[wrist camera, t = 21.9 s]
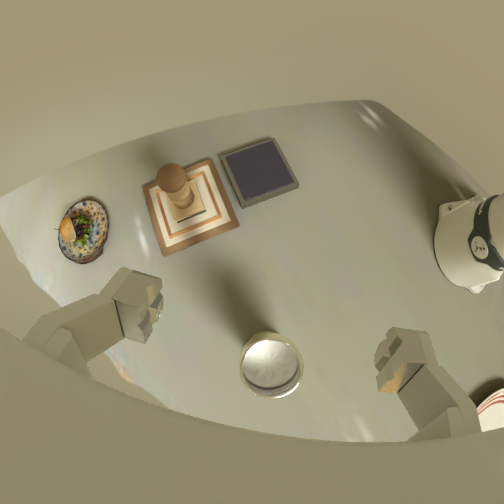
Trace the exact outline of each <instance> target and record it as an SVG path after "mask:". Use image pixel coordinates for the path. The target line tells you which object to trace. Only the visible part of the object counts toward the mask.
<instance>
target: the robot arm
mask: <svg viewBox="0 0 504 504" xmlns="http://www.w3.org/2000/svg"><path fill="white" fill-rule="evenodd" d="M448 208H449V209H448ZM434 247H435V253H436V258H437V261H438V264H439V266H440V268H441V270H442V272H443V273H444V275H445V276H446V277H447V278H448V279H449V280H450V281H451V282H452V283H454V284H456V285H458V286H462V287H466V288H467V289H469V290H470V291H471V292H472V293H474V294H476V293H479V292H480V291H481V290H482V288H483V287H484V286H485V284H487V283H490V282H493V281H497V280H498V279H500V276H501V275H502V273H503V271H504V193H502V194H501V195H495V196H491V197H489V198H487V199H485V198H483V195H482V194H478V195H476V196H474V197H472V198H470V199H468V200H462V201H456V202H450V203H444V204H442V205H440V207H439V222H438V225H437V228H436V231H435V238H434ZM161 289H162V279H160V278H159V277H155V276H152V275H148V274H145V273H142V272H139V271H134V270H131V269H128V268H125V267H123V268H120V269H119V270H118V271H117V272H116V274H115V275H114V276H113V277H112V278H111V280H110V281H109V282H108V283H107V284H106V286H105V287H104V288H103V289H102V291H101V292H100V293H99V294H98V295H97V294H93V295H91V296H88V297H86V298H83V299H81V300H79V301H76V302H74V303H71V304H69V305H67V306H64V307H62V308H60V309H57V310H55V311H53V312H50V313H48V314H46V315H43V316H41V318H40V319H39V320H38V321H37V323H36V324H35V325H34V326H33V327H32V329H31V330H30V331H29V333H28V334H27V335H26V336H25V338H24V339H23V340H21V339H19V338H18V337H16V336H15V335H13V334H12V333H10V332H9V331H7V330H6V329H4V328H3V327H2V326H0V504H504V427H502V428H498V429H494V430H489V431H484V432H482V431H481V426H480V421H479V417H478V413H477V409H476V405H475V404H474V403H473V401H472V400H471V399H470V398H469V397H468V395H467V394H466V393H465V392H464V391H463V390H462V388H461V387H460V386H459V385H458V384H457V383H456V382H455V380H454V379H453V378H452V377H451V376H450V375H449V374H448V373H447V371H446V370H445V369H444V368H443V367H442V366H439V365H438V362H437V359H436V356H435V352H434V349H433V346H432V343H431V340H430V337H429V334H428V333H427V332H426V331H418V330H409V329H402V328H395V327H392V328H390V329H389V330H388V332H387V333H386V337H387V339H386V340H384V341H382V342H380V344H379V346H378V347H377V349H376V353H375V359H374V362H375V367H376V368H377V370H378V371H379V373H378V375H377V376H376V378H377V386H378V391H379V392H389V393H398V394H397V395H398V397H399V398H400V400H401V401H402V403H403V405H404V406H405V408H406V410H407V411H408V413H409V415H410V416H411V418H412V420H413V421H414V423H415V425H416V426H417V428H418V430H419V431H418V432H417V433H415V434H414V435H413V436H411V437H410V438H409V439H408V440H409V441H407V442H342V441H327V440H315V439H305V438H297V437H289V436H282V435H275V434H269V433H263V432H258V431H252V430H247V429H242V428H237V427H233V426H228V425H224V424H220V423H216V422H212V421H208V420H204V419H201V418H197V417H193V416H190V415H186V414H183V413H180V412H177V411H173V410H170V409H167V408H164V407H161V406H158V405H155V404H152V403H149V402H147V401H144V400H141V399H139V398H136V397H134V396H131V395H128V394H126V393H124V392H121V391H119V390H116V389H114V388H112V387H109V386H107V385H105V384H102V383H100V382H98V381H96V380H94V379H92V374H91V372H90V370H89V368H88V366H87V364H86V362H88V361H89V360H91V359H93V358H94V357H96V356H97V355H99V354H100V353H102V352H103V351H105V350H107V349H108V348H110V347H111V346H113V345H114V344H116V343H117V342H119V341H121V340H122V339H124V337H125V338H128V339H131V340H134V341H137V342H140V343H144V344H145V343H146V341H147V339H148V338H149V336H150V334H151V332H152V324H153V323H155V322H157V321H158V319H159V317H160V315H161V312H162V309H163V296H162V294H161V293H160V290H161Z"/></svg>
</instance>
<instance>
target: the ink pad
mask: <svg viewBox="0 0 504 504" xmlns="http://www.w3.org/2000/svg"><path fill="white" fill-rule="evenodd" d="M221 160H222V163H223V165H224V167H225V170H226V172H227V174H228V177H229V179H230V181H231V184H232V186H233V188H234V190H235V193H236V195H237V197H238V200H239V202H240V204H241V207H242V209H244V208H246V207H249V206H252V205H254V204H257V203H259V202H262V201H265V200H267V199H270V198H273V197H275V196H278V195H281V194H283V193H286V192H289V191H291V190H294V189H297V188H298V187H299V183H298V181H297V179H296V177H295V175H294V173H293V171H292V169H291V167H290V166H289V164H288V162H287V160H286V158H285V156H284V154H283V153H282V151H281V149H280V147H279V145H278V143H277V142H276V140H275V138H272V139H269V140H265V141H262V142H259V143H256V144H253V145H250V146H248V147H245V148H242V149H239V150H236V151H233V152H231V153H228V154H225V155H222V156H221Z"/></svg>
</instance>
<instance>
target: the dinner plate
mask: <svg viewBox="0 0 504 504" xmlns="http://www.w3.org/2000/svg"><path fill="white" fill-rule="evenodd" d="M476 409H477V413H478V417H479V421H480V426H481V431H482V432H484V431H489V430H494V429H498V428H502V427H504V388H502V389H500V390H498V391H496V392H494V393H493V394H491V395H490V396H489V397H487V398H486V399H485V400H484V401H483V402H482V403H481V404H480V405H479V406H478V407H477V408H476Z"/></svg>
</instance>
